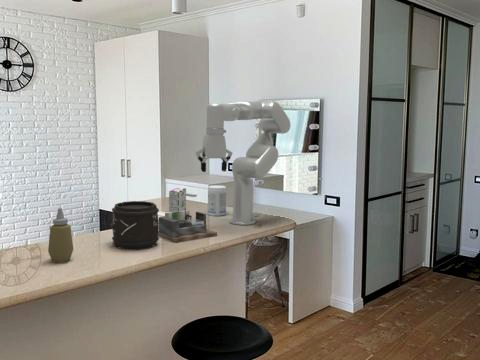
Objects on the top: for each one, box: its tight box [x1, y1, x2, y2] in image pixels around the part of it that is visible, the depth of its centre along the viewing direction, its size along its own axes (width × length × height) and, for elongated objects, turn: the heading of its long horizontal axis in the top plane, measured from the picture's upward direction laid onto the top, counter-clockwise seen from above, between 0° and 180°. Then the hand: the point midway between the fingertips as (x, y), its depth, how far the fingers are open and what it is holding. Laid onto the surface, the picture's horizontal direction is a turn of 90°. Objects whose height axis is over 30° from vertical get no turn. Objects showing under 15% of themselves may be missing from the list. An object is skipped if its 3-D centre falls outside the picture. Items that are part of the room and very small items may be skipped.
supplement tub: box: [207, 184, 227, 217], centre depth 244 cm, size 10×10×15 cm
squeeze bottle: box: [47, 207, 74, 263], centre depth 159 cm, size 8×8×18 cm
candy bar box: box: [168, 187, 187, 213], centre depth 219 cm, size 11×5×16 cm, turn 168°
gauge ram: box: [184, 211, 207, 228], centre depth 203 cm, size 7×9×7 cm
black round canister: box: [110, 200, 160, 251], centre depth 183 cm, size 18×18×16 cm
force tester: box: [158, 209, 218, 244], centre depth 199 cm, size 21×16×9 cm
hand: (213, 171), depth 207 cm, fingers open, 9 cm apart
